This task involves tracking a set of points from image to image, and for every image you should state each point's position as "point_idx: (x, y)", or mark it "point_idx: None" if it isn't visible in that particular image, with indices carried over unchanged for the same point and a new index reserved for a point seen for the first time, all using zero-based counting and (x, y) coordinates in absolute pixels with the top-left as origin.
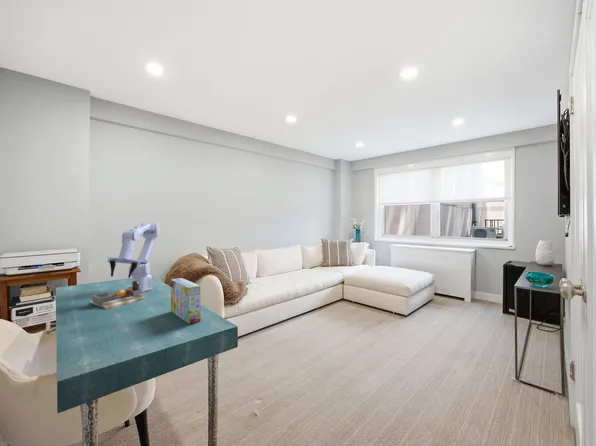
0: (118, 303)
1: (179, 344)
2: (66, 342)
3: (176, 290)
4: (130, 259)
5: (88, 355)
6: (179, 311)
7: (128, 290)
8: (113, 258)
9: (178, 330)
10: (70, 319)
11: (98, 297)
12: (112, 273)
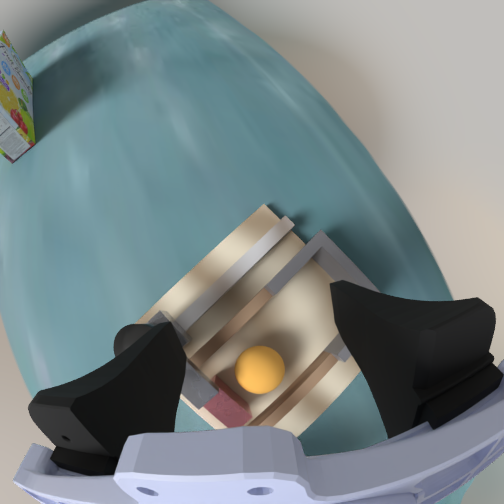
0: (227, 252)
1: (68, 33)
2: (241, 29)
3: (3, 68)
4: (88, 484)
5: (181, 7)
6: (27, 92)
7: (222, 389)
8: (501, 409)
9: (54, 60)
10: (334, 134)
11: (338, 252)
12: (337, 285)
